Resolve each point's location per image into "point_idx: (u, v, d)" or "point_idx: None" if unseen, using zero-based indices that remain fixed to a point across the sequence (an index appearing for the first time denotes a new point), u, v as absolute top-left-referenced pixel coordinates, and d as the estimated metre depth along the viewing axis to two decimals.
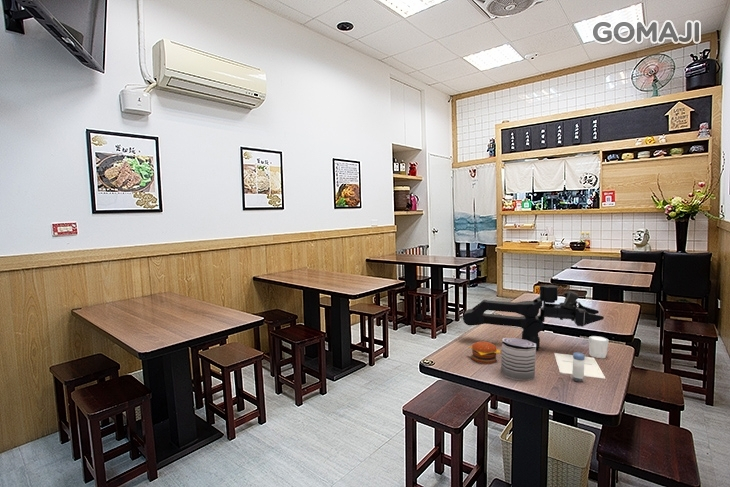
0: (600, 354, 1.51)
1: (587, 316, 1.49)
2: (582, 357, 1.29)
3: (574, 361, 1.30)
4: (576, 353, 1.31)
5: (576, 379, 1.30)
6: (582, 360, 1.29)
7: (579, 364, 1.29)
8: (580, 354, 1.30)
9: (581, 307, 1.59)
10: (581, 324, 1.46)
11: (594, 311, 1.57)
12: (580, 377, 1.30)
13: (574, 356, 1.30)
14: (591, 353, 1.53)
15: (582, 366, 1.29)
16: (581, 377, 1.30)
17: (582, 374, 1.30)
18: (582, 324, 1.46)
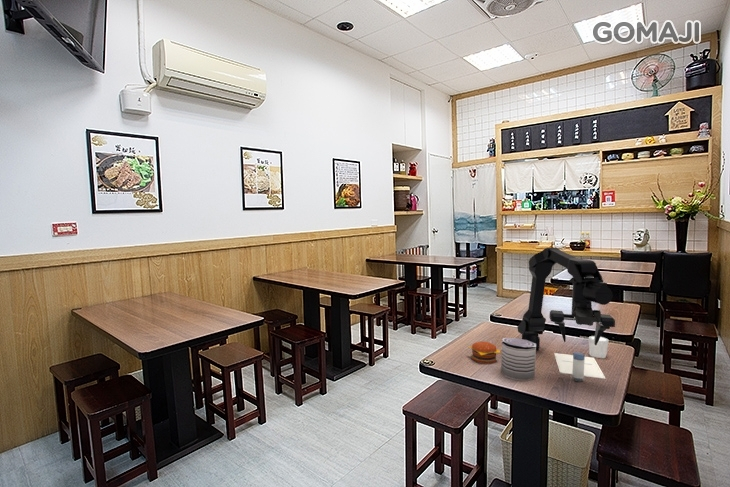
0: (600, 354, 1.51)
1: None
2: (582, 357, 1.29)
3: (574, 361, 1.30)
4: (576, 353, 1.31)
5: (576, 379, 1.30)
6: (582, 360, 1.29)
7: (579, 364, 1.29)
8: (580, 354, 1.30)
9: (598, 328, 1.27)
10: None
11: (595, 340, 1.29)
12: (580, 377, 1.30)
13: (574, 356, 1.30)
14: (591, 353, 1.53)
15: (582, 366, 1.29)
16: (581, 377, 1.30)
17: (582, 374, 1.30)
18: (549, 316, 1.35)
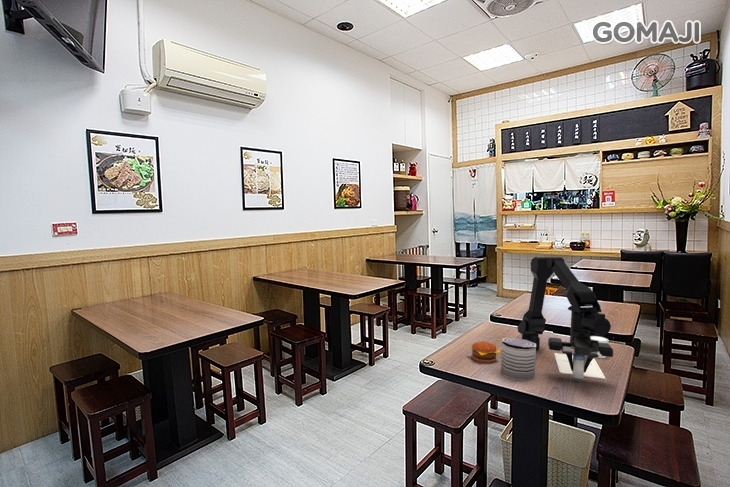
0: (600, 354, 1.51)
1: None
2: (582, 357, 1.29)
3: (574, 361, 1.30)
4: None
5: (576, 379, 1.30)
6: (582, 360, 1.29)
7: (579, 364, 1.29)
8: (580, 354, 1.30)
9: (587, 356, 1.29)
10: (548, 342, 1.36)
11: (584, 367, 1.30)
12: (580, 377, 1.30)
13: (574, 356, 1.30)
14: None
15: (582, 366, 1.29)
16: (581, 377, 1.30)
17: (582, 374, 1.30)
18: (548, 343, 1.36)
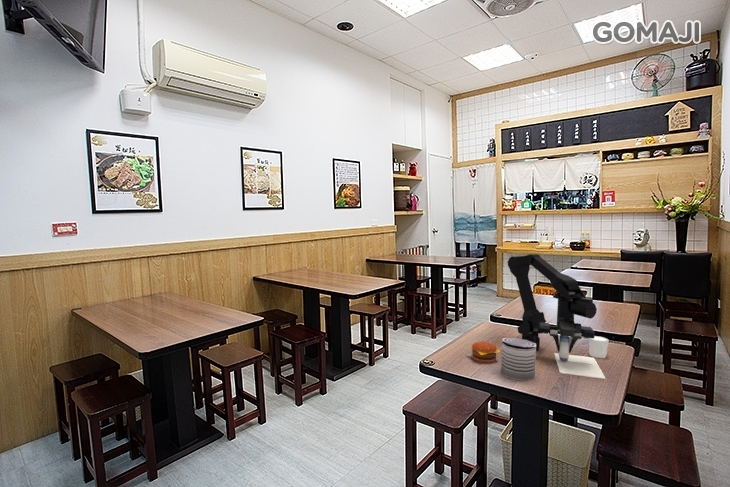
0: (600, 354, 1.51)
1: None
2: (567, 339, 1.45)
3: (560, 343, 1.46)
4: (562, 336, 1.47)
5: (562, 359, 1.46)
6: (567, 342, 1.45)
7: (564, 345, 1.45)
8: (565, 336, 1.46)
9: (571, 338, 1.44)
10: (537, 327, 1.51)
11: (569, 348, 1.46)
12: (565, 357, 1.45)
13: (560, 338, 1.46)
14: (591, 353, 1.53)
15: (567, 347, 1.45)
16: (566, 357, 1.45)
17: (567, 354, 1.45)
18: (537, 327, 1.51)
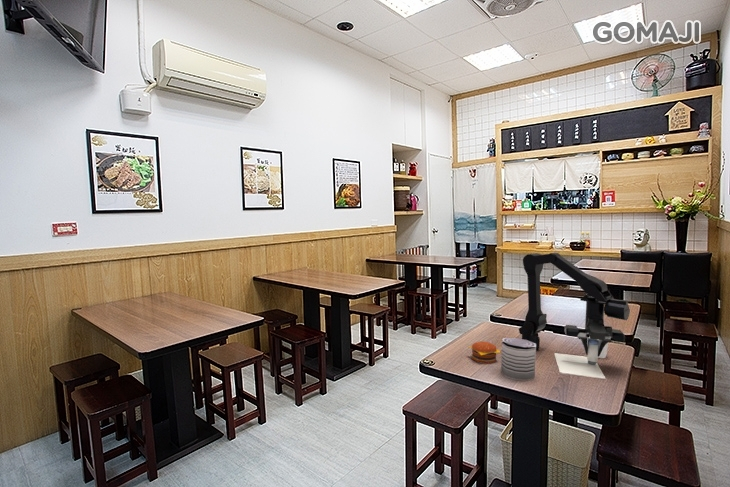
0: (600, 354, 1.51)
1: None
2: (596, 342, 1.41)
3: (589, 346, 1.43)
4: (590, 339, 1.44)
5: (591, 362, 1.43)
6: (596, 345, 1.42)
7: (593, 348, 1.42)
8: None
9: (601, 341, 1.41)
10: None
11: None
12: (594, 360, 1.42)
13: (589, 341, 1.43)
14: None
15: (596, 350, 1.42)
16: (595, 360, 1.42)
17: (596, 358, 1.42)
18: (564, 330, 1.48)
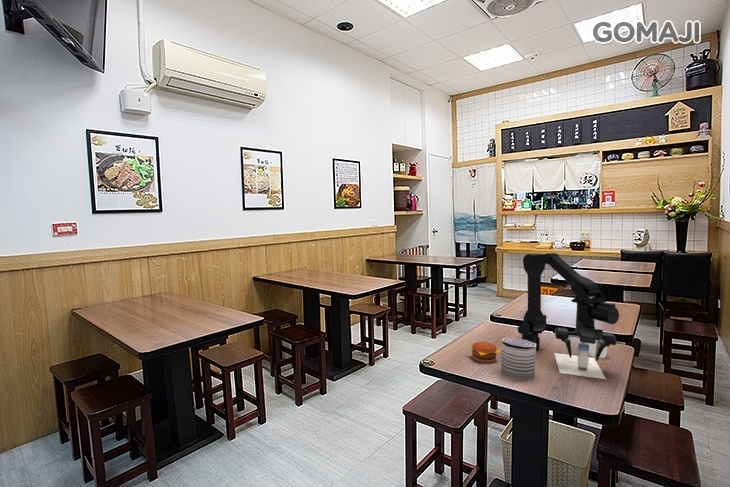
0: (600, 354, 1.51)
1: None
2: (587, 347, 1.37)
3: (580, 351, 1.38)
4: (581, 344, 1.40)
5: (581, 368, 1.39)
6: (587, 350, 1.37)
7: (584, 354, 1.38)
8: (585, 345, 1.39)
9: (599, 345, 1.36)
10: None
11: (595, 356, 1.38)
12: (585, 366, 1.38)
13: (579, 346, 1.39)
14: (591, 353, 1.53)
15: (587, 356, 1.38)
16: (586, 366, 1.38)
17: (587, 363, 1.38)
18: None
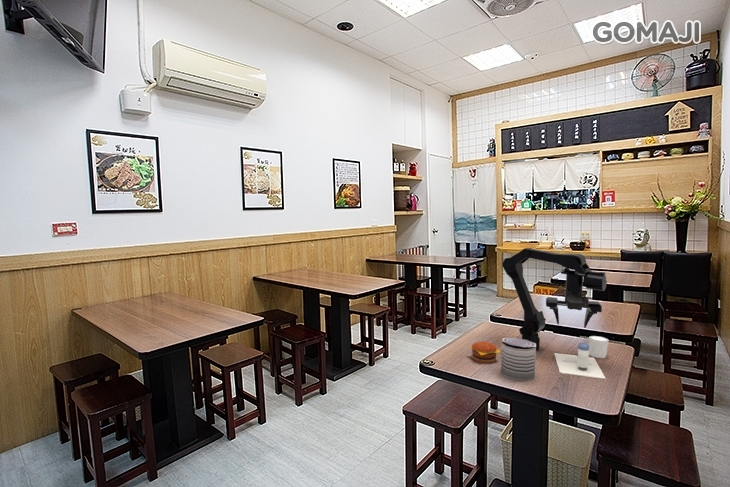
0: (600, 354, 1.51)
1: None
2: (587, 347, 1.37)
3: (580, 351, 1.38)
4: (581, 344, 1.40)
5: (581, 368, 1.39)
6: (587, 350, 1.37)
7: (584, 354, 1.38)
8: (585, 345, 1.39)
9: (587, 313, 1.46)
10: None
11: (584, 323, 1.48)
12: (585, 366, 1.38)
13: (579, 347, 1.39)
14: (591, 353, 1.53)
15: (587, 356, 1.38)
16: (586, 366, 1.38)
17: (587, 363, 1.38)
18: None
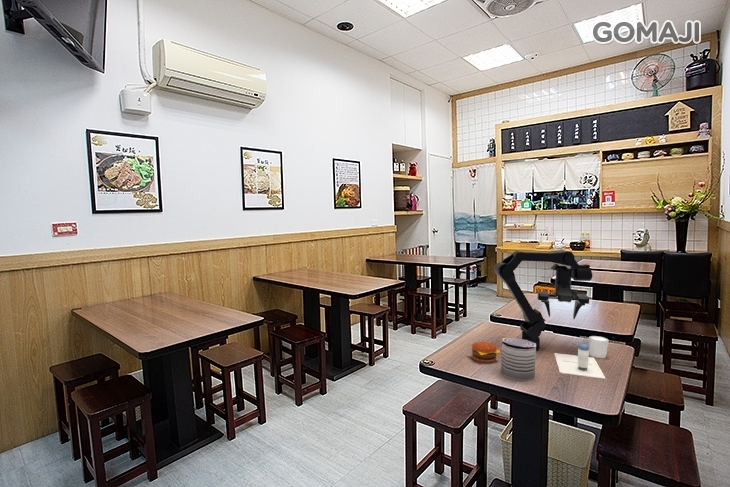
0: (600, 354, 1.51)
1: None
2: (587, 347, 1.37)
3: (580, 351, 1.38)
4: (581, 344, 1.39)
5: (581, 368, 1.39)
6: (587, 350, 1.37)
7: (584, 354, 1.37)
8: (585, 345, 1.39)
9: (576, 305, 1.57)
10: (537, 295, 1.65)
11: (573, 315, 1.59)
12: (585, 366, 1.38)
13: (579, 347, 1.39)
14: (591, 353, 1.53)
15: (587, 356, 1.38)
16: (586, 366, 1.38)
17: (587, 363, 1.38)
18: (537, 296, 1.65)
